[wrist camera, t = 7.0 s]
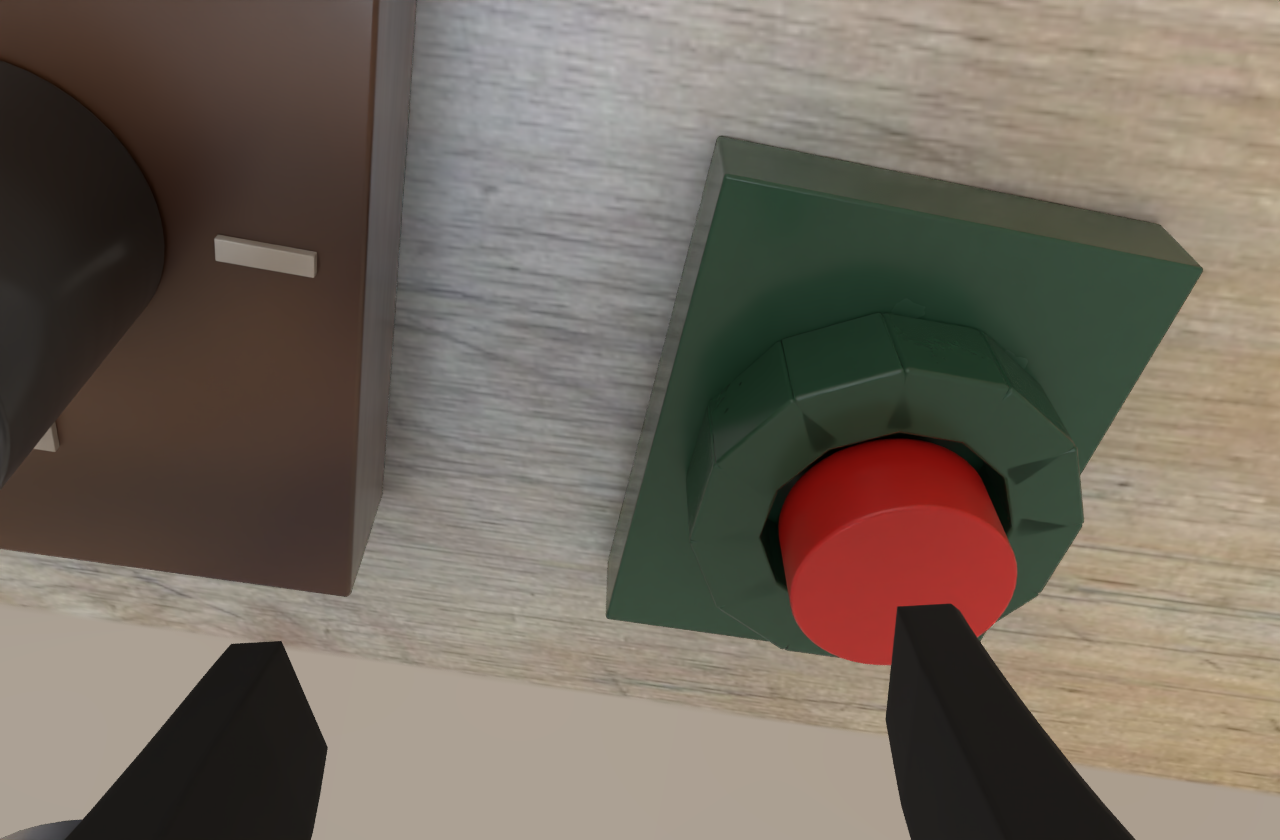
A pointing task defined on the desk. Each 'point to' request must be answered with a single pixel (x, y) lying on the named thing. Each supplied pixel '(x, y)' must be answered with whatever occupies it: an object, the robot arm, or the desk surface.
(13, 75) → the rotary knob
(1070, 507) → the button box
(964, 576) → the button
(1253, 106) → the desk surface
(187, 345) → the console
